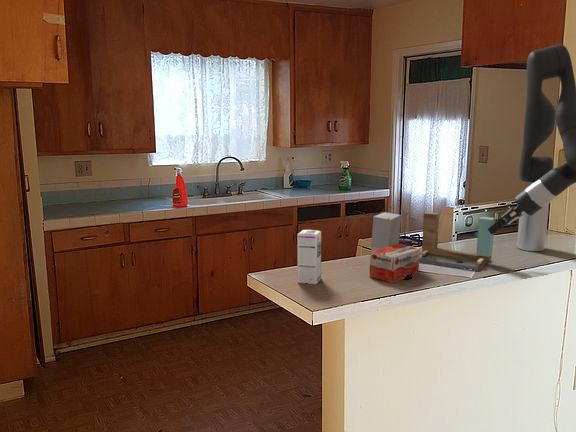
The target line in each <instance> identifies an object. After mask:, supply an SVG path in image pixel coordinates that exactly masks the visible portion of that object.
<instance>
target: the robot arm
mask: <svg viewBox="0 0 576 432" xmlns="http://www.w3.org/2000/svg"><path fill="white" fill-rule="evenodd" d="M553 78H554V79H555V78H559V81H560V86H561V87H560V95H559V98H558V101H557V105H556V108H555V106H554V105H553V104H552V102H551V100H550V99H548V97H547V96H546V95H545V93H544V91H543V81H546V80H550V79H553ZM575 78H576V77H575V74H574V68H573V62H572V58H571V55H570V52H569V50H568V48H567V47H566V46H565V45H564V44H554V45H552V46H547V47H543V48H538V49H536V50H533V51H531V52H530V53H529V54H528V57H527V62H526V103H525V112H524V118H523V119H524V120H523V136H522V137H523V138H522V140H523V141H522V147H521V148H522V149H521V155H520V160H519V161H520V162H519V167H518V175H519V180H521V182H525V183H531V184H529V185H528V186H527V187H526V188H524V189H523V190H522V191H520V192H519V193H518V194H517V195H516V196H515V197H514V201H515V203H516V204H517V206H515V205H513V206H511V207H509V209H507V210H506V211H505V212H504V213H503V214H502V215H501V217H500V218H499V219H497V221H495V224H493V225H492V226H491V227H490V228H488V231H489V232H490V233H491V234H494V235H495V233H497V232H498V231H499V230H501V229H502V228H504V227H506V225H510V224H511V223H513V222H515V220H518V230H517V240H516V248H517V249H519V250H523V251H528V252H543V251H545V248H546V240H547V239H546V238H547V229H548V219H549V217H548V216H549V208H550V207H549V205H550V203H551V202H552V201H553V200H554V199H555V198H557V197H558V196H559V195H560V194H562V193H563V192H564V191H565V190H567V189H568V188H569V187H570V186H572V185H573V184H575V183H576V79H575ZM555 125H556V127H557V130H558V134H559V135H560V139H561V141H562V148H563V153H564V158H565V161H566V162H564V163H563V164H562V165H560V166H558V167H554V160H553V158H552V157H550V156H539V155H538V156H537V155H534V153H535V152H536V150H537V149H538V148H539V147H540V146H542V144H544V143H545V142H546V141H547V140H548V139H549V138H550V136H551V135H552V134H553V132H554V130H555Z"/></svg>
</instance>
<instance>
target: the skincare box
mask: <svg viewBox="0 0 576 432" xmlns="http://www.w3.org/2000/svg"><path fill="white" fill-rule="evenodd" d="M401 222H402V215H401V214H398V213H397V214H396V213H392V212H385V211H384V212H381V213H379V214H377V215H374V216H373V217H372V231H371V244H370V245H371V247H370V253H371V252H372V251H376V250H379V249H382V248H385V247H389V246H392V245H395V244H400V235H401Z"/></svg>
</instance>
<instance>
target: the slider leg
mask: <svg viewBox="0 0 576 432" xmlns="http://www.w3.org/2000/svg"><path fill="white" fill-rule="evenodd" d="M495 220H496V218H495V217H489V216H481V217H479V218H478V225H477V227H478V228H477V238H476V239H477V241H476V252H475V253H476V255H479V256H486V257H490V256H492V255H493V249H494V247H493V246H494V235H495V233H494V234H491V233H490V232H489V231H488V228H490V227H491V226H492V225H493V224H495V223H496V221H495ZM483 261H484V258H480V259H479V260H478V261H477V264H481V263H482V262H483Z"/></svg>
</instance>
